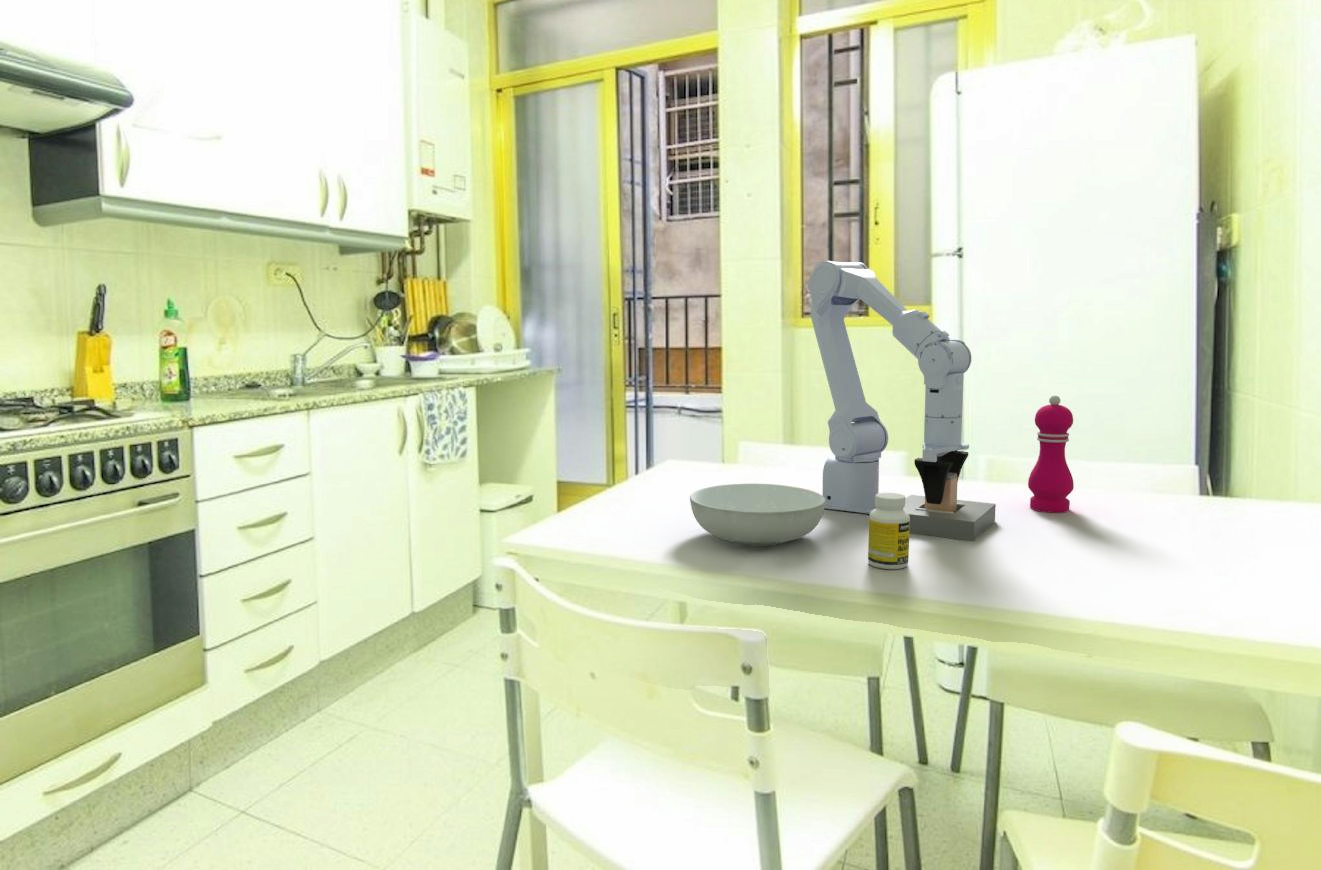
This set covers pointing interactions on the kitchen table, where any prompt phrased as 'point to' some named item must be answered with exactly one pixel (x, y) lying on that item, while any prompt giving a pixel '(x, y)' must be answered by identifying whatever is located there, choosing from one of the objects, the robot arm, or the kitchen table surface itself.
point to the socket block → (950, 519)
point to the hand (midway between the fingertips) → (940, 498)
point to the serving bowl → (757, 512)
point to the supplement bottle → (889, 532)
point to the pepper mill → (1052, 460)
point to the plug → (947, 496)
